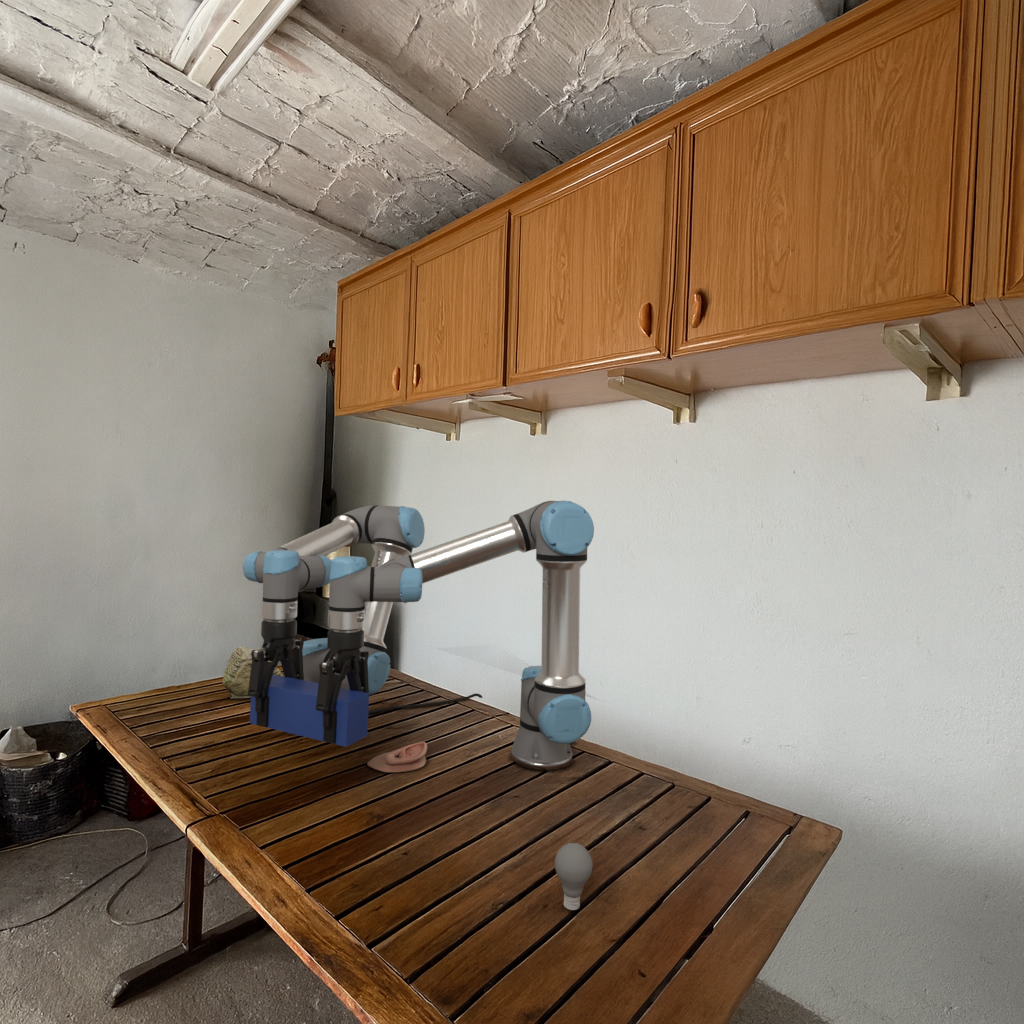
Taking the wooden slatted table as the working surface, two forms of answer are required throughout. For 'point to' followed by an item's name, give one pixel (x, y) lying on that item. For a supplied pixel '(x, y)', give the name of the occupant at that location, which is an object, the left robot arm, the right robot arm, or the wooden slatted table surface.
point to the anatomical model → (401, 759)
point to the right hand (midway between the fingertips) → (342, 735)
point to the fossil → (240, 672)
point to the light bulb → (573, 872)
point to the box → (313, 710)
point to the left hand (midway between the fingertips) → (275, 720)
